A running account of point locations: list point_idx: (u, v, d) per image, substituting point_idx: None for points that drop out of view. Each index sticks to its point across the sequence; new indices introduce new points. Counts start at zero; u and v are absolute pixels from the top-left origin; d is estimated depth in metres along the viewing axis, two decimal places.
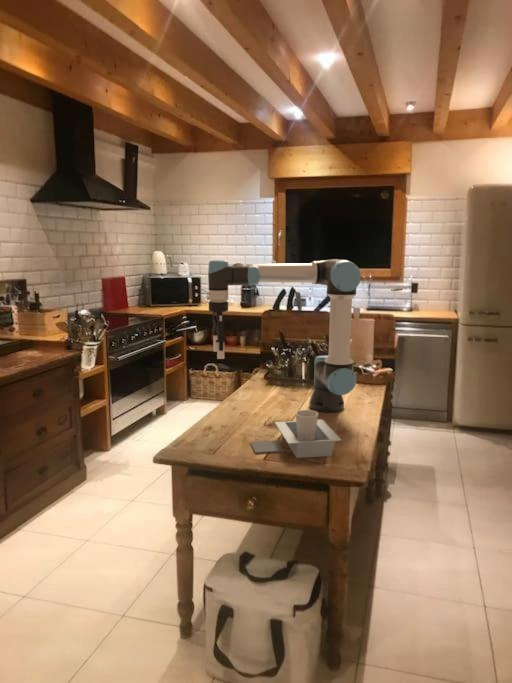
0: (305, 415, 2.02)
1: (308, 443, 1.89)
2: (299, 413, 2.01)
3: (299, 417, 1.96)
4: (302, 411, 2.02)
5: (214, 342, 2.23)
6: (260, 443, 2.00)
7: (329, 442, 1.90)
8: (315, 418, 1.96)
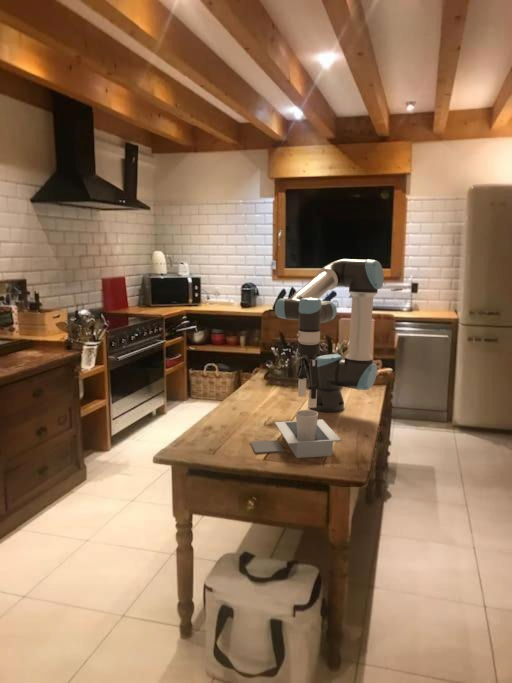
0: (305, 415, 2.02)
1: (308, 443, 1.89)
2: (299, 413, 2.01)
3: (299, 417, 1.96)
4: (302, 411, 2.02)
5: (299, 386, 2.03)
6: (260, 443, 2.00)
7: (329, 442, 1.90)
8: (315, 418, 1.96)
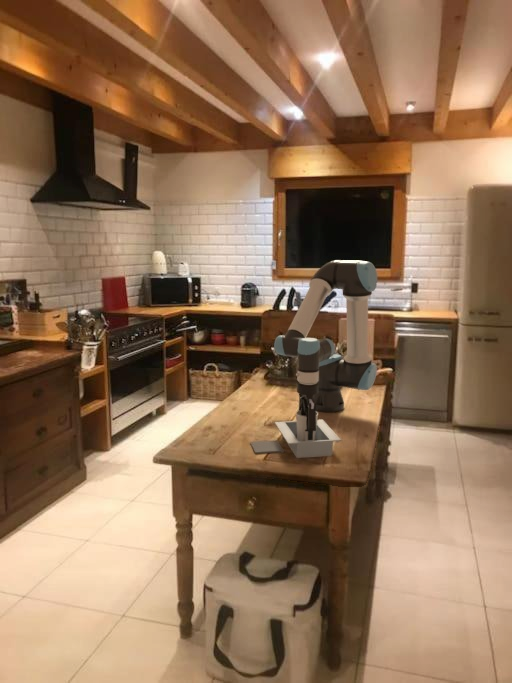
0: None
1: (308, 443, 1.89)
2: (299, 413, 2.01)
3: (299, 417, 1.96)
4: None
5: None
6: (260, 443, 2.00)
7: (329, 442, 1.90)
8: None
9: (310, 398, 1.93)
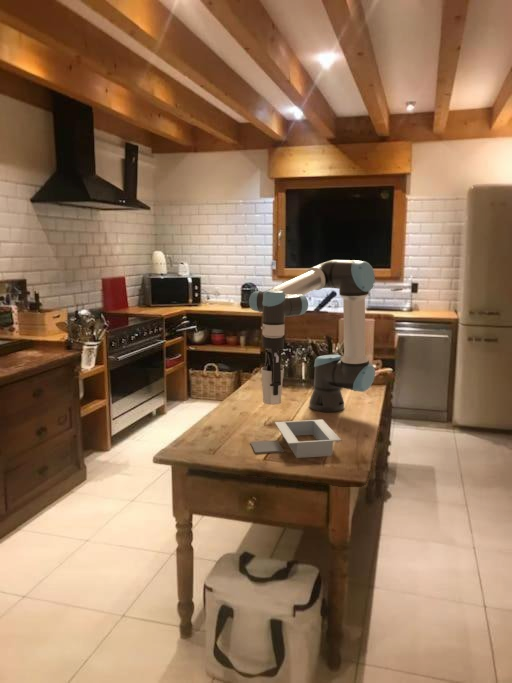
0: None
1: (308, 443, 1.89)
2: (265, 369, 1.95)
3: (264, 372, 1.90)
4: None
5: None
6: (260, 443, 2.00)
7: (329, 442, 1.90)
8: (281, 373, 1.90)
9: (275, 352, 1.88)
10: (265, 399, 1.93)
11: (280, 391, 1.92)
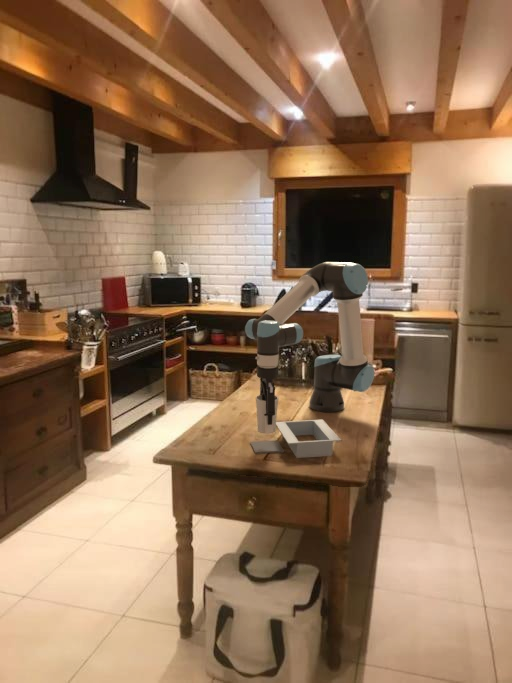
0: None
1: (308, 443, 1.89)
2: (260, 398, 1.97)
3: (259, 401, 1.92)
4: None
5: None
6: (260, 443, 2.00)
7: (329, 442, 1.90)
8: (275, 402, 1.92)
9: (269, 382, 1.90)
10: (259, 428, 1.94)
11: (274, 420, 1.94)
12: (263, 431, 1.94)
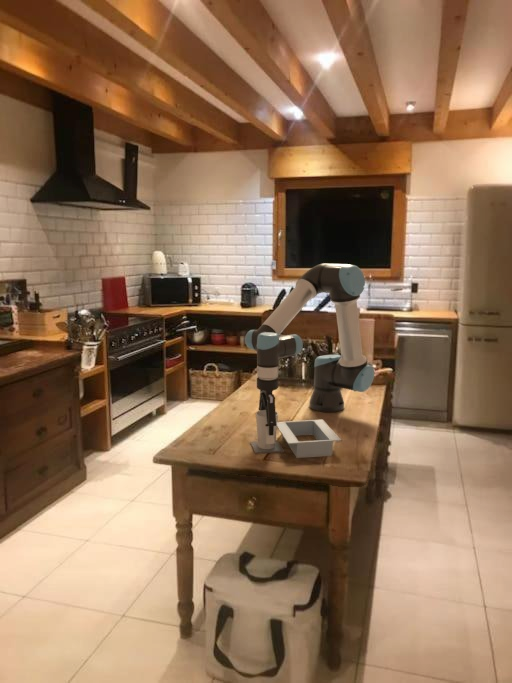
0: None
1: (308, 443, 1.89)
2: (260, 413, 1.99)
3: (258, 417, 1.93)
4: (263, 411, 1.99)
5: None
6: None
7: (329, 442, 1.90)
8: None
9: (269, 393, 1.91)
10: (260, 443, 1.96)
11: None
12: (263, 446, 1.95)
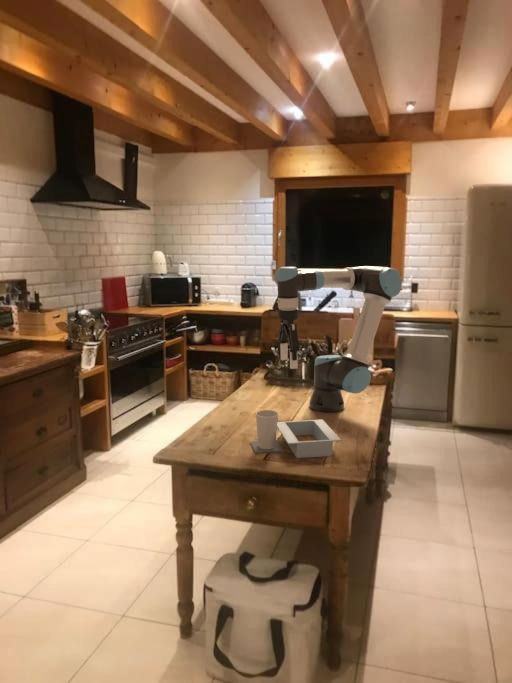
0: (266, 415, 2.00)
1: (308, 443, 1.89)
2: (260, 413, 1.99)
3: (259, 417, 1.93)
4: (263, 411, 1.99)
5: (281, 350, 2.17)
6: None
7: (329, 442, 1.90)
8: (275, 418, 1.93)
9: (290, 322, 2.05)
10: (260, 443, 1.96)
11: (274, 435, 1.96)
12: (263, 446, 1.95)
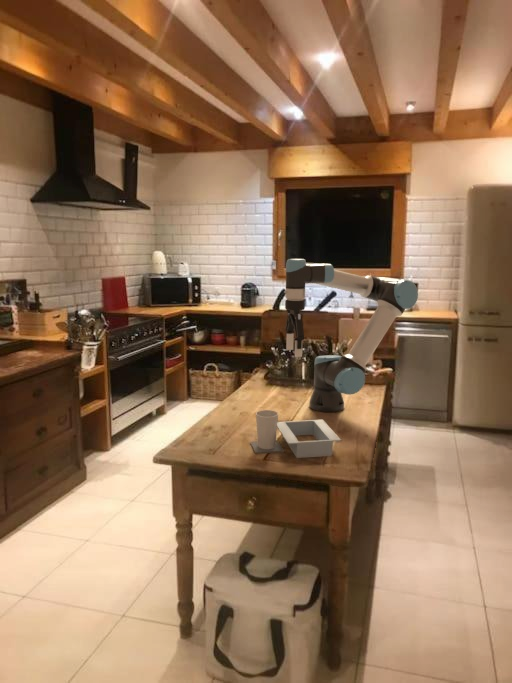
0: (266, 415, 2.00)
1: (308, 443, 1.89)
2: (260, 413, 1.99)
3: (258, 417, 1.93)
4: (263, 411, 1.99)
5: (287, 340, 2.24)
6: None
7: (329, 442, 1.90)
8: (275, 418, 1.93)
9: (297, 312, 2.12)
10: (260, 443, 1.96)
11: (274, 435, 1.96)
12: (263, 446, 1.95)
